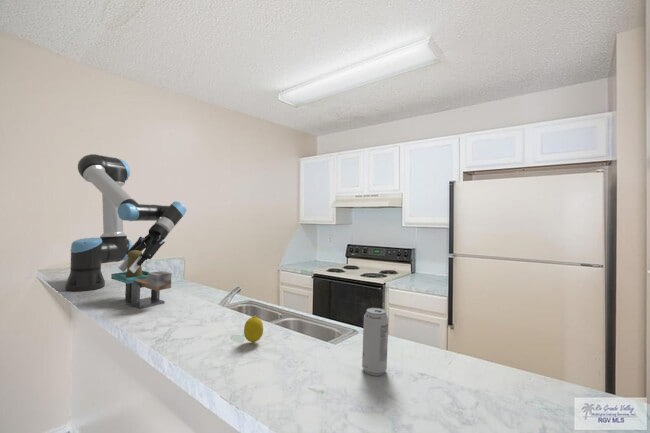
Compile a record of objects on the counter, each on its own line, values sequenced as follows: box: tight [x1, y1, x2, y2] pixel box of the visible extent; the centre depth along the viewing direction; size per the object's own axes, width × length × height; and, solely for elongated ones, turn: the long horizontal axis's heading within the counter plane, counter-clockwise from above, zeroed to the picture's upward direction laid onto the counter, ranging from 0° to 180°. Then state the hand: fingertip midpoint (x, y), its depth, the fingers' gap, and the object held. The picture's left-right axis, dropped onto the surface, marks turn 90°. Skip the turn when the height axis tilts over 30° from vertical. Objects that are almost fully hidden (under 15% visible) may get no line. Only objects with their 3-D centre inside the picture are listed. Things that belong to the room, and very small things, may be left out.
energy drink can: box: [361, 307, 389, 377], centre depth 79 cm, size 6×6×15 cm
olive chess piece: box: [126, 250, 143, 278], centre depth 134 cm, size 6×6×11 cm
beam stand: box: [124, 283, 166, 310], centre depth 131 cm, size 10×16×9 cm, turn 59°
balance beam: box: [110, 270, 173, 291], centre depth 130 cm, size 12×27×7 cm, turn 59°
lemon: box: [243, 315, 264, 344], centre depth 94 cm, size 6×6×8 cm
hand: (126, 270), depth 130 cm, fingers closed on olive chess piece, 5 cm apart
